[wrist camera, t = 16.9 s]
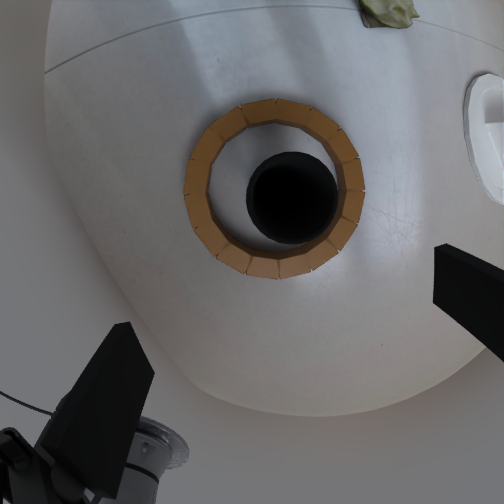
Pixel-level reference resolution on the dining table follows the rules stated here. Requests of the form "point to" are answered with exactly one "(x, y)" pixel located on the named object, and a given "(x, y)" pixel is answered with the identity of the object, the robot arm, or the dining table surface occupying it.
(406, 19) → the fruit
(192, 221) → the orange-brown segmented ring
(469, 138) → the dish
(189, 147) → the dining table surface
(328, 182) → the cup
